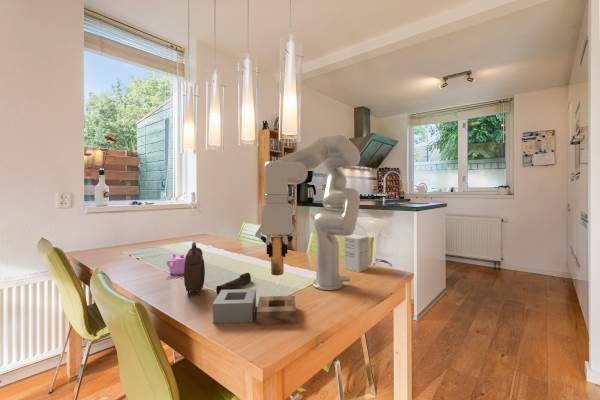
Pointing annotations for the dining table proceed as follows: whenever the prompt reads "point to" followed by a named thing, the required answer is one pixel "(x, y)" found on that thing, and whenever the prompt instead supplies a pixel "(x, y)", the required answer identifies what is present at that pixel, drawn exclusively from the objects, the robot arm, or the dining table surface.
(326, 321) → the dining table surface
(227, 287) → the hand tool
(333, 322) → the dining table surface
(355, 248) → the supplement box
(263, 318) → the mount block
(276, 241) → the pin
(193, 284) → the alarm clock
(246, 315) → the socket block
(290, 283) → the dining table surface
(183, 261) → the teapot
